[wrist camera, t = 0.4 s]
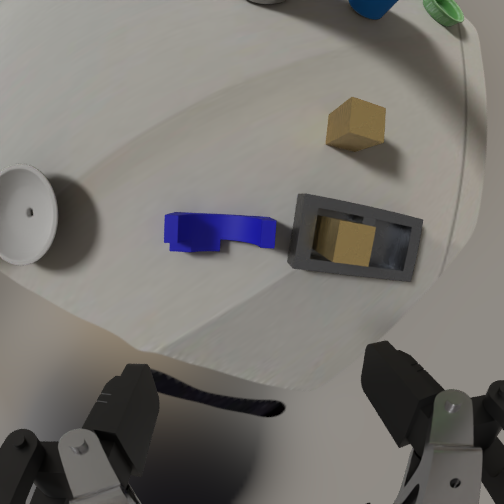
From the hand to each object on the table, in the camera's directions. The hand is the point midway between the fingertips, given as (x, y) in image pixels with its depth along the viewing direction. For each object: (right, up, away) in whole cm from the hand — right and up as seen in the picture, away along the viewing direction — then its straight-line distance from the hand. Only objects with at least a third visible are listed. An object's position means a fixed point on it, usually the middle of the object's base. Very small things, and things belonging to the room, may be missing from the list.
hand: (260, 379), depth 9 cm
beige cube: (+10, +7, +27) cm, 30 cm away
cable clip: (-4, +7, +27) cm, 28 cm away
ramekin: (+38, +54, +21) cm, 69 cm away
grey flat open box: (+14, +7, +28) cm, 32 cm away
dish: (-34, +11, +24) cm, 43 cm away
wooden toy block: (+12, +21, +25) cm, 35 cm away
